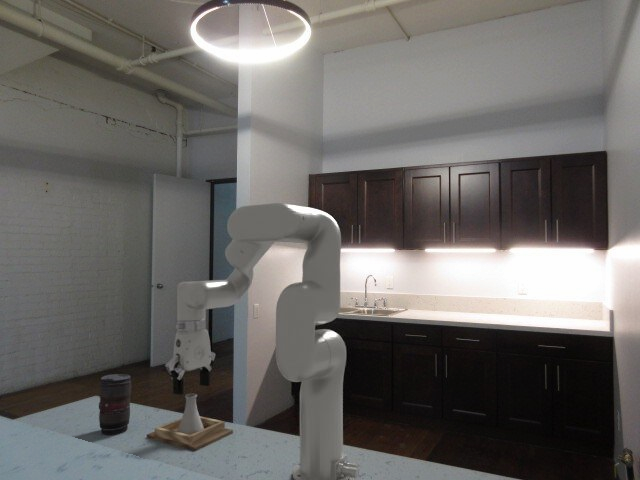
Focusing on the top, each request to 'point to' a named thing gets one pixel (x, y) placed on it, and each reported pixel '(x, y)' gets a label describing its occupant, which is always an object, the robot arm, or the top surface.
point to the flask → (190, 417)
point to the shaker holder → (194, 441)
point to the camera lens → (114, 403)
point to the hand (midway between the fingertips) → (192, 389)
